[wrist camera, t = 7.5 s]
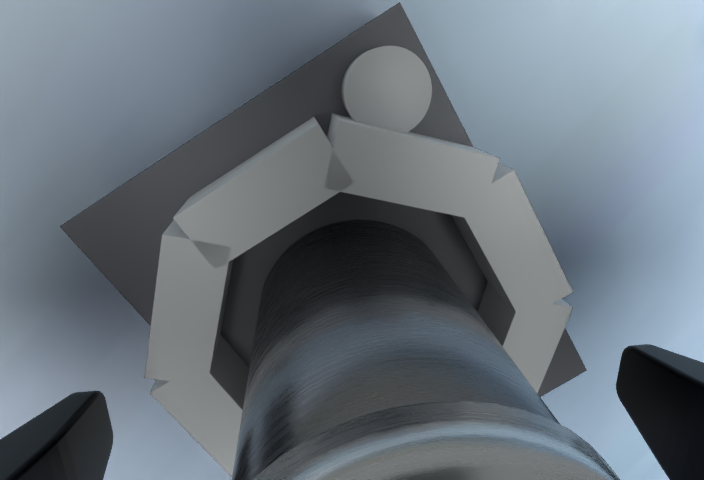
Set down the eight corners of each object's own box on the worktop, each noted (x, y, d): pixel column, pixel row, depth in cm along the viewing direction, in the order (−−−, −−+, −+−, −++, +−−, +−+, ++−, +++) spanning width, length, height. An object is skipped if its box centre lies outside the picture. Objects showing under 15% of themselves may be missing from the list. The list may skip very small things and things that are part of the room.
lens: (461, 207, 10) (877, 557, 3) (451, 387, 12) (702, 911, 5) (243, 218, 10) (83, 663, 3) (261, 403, 12) (196, 1013, 4)
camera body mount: (542, 321, 15) (628, 406, 11) (318, 452, 15) (326, 574, 12) (381, 13, 11) (425, -15, 8) (101, 198, 12) (15, 255, 8)
